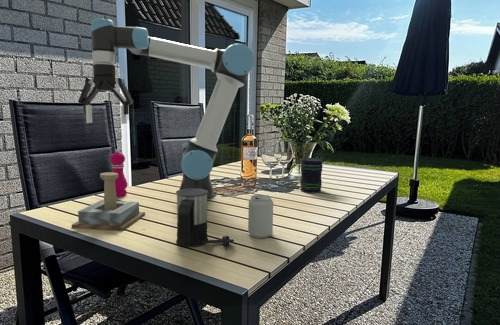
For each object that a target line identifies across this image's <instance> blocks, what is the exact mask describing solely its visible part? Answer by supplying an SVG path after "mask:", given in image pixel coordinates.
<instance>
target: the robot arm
mask: <svg viewBox="0 0 500 325" xmlns="http://www.w3.org/2000/svg"><path fill="white" fill-rule="evenodd" d="M90 24H91V27H90V28H91V29H90V34H91V35H90V36H91V45H92V46H91V47H92V49H91V50H92V51H91V52H92V63H93V65H92V73H93V78H92V77H85V81H84V82H85V83H84V86H83V87H82V91H81V93H80V95H79V98H78V101H77V102H78V104H82V105H83V113H84V114H85V119H86V124H91V123H93V110H92V109H93V108H92V106H93V105H91V103H92V101H93V100H94V99H95V97H96V96H97V94H98V93H100V92H101V91H102V92H103V91H109V92H112V93H113V95H114V96H115V97H116V98H117V99H118V100H119V102H120V104H122V105H120V118H121V120H120V121H121V123H120V124H121V125H124V124H128V123H127V122H128V121H127V120H128V119H127V118H128V117H127V115H129V114H130V112H129V111H130V110H129V106H130V105H133V104H134V100H133V97H131V94H130V91H128V89H127V86H126V82H125V79H124V78H123V77H122V78H121V77H118V78H116V65H115V64H116V55H115V49H125V50H126V49H127V50H129V51H130V52H131V54H133V55H136V56H147V57H151V58H156V59H161V60H165V61H171V62H176V63H179V64H185V65H190V66H194V67H199V68H203V69H209V70H210V71H211V72H212V73H214V74H215V76H216V78H217V81H216V83H215V86H214V88H213V90H212V94H211V96H210V98H209V101H208V104H207V105H206V108H205V110H204V114H203V116H202V119H201V122H200V124H199V126H198V129H197V131H196V134H195V137H192V138H191V139H189V142H185V143H183V144H182V145H181V146H182V148H181V151H182V152H181V154H182V156H181V157H182V158H181V162H180V168H181V171H182V179H181V183H180V186H179V189H178V190H181V189H190V188H194V189H204V190H207V191H208V193H207V199H211V198H212V197H214V196H215V190H214V186H213V183H212V181H211V172H212V171H213V168H214V167H213V166H214V161H215V159H216V157H217V154H218V151H219V150H218V148H217V143H218V141H219V138H220V137H221V136H220V135H221V133H222V131H223V127H224V125H225V123H226V122H227V118H228V116H229V112H230V111H231V108H232V105H233V103H234V101H235V98H236V96H237V93H238V90H239V88H242V87H244V86H245V83H246V81H247V78H248V76H249V73H251V71H252V70H253V68H254V64H255V56H254V55H255V54H254V53H253V51H252V49H251V48H250V47H249V46H248V45H246V44H243V43H238V42H237V43H233V44H230V45H228V46H227V47H226V48H225V49H220V48H215V49H214V50H213V49H207V48H204V47H199V46H194V45H189V44H185V43H180V42H176V41H172V40H167V39H164V38H163V39H162V38H158V37H154V36H153V37H152V36H149V30H148V29H147V28H145V27H139V26H118V25H117V26H116V25H115V24H114V21H113V20H111V19H108V18H103V17H102V18H100V17H99V18H98V17H97V18H94V19H92V20H91V23H90ZM93 84H94V86H93ZM116 84H117V85H118V87H119V89H120V91H121V92H120V91H119V90H118V88H117V86H116ZM92 86H93V87H92ZM91 88H92V89H91ZM90 90H91V91H90Z"/></svg>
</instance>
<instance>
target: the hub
mask: <svg viewBox="0 0 500 325" xmlns="http://www.w3.org/2000/svg"><path fill="white" fill-rule="evenodd" d="M116 201H117V209H115V210H105V207H104V199H103V200H102V199H100V200H99V201H97V202H94V203H92V204H91V205H88V206H86V207H84V208H82V209H80V210H78V211H77V215H78V216H77V217H78V219H77V220H78V221H75V222H74V223H72V224H71V229H85V230H86V229H88V230H101V231H102V230H105V231H120V232H123V231H125V230H126V229H127V228H129V227H130V226H132V225H133V224H134V223H136V222H137V221H139V220H140V219H141V218H142V217H144V216H145V215H146V212H145V211H140V202H139V201H128V200H127V201H124V200H116Z"/></svg>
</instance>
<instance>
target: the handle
mask: <svg viewBox="0 0 500 325" xmlns="http://www.w3.org/2000/svg"><path fill="white" fill-rule="evenodd" d="M99 178H100V179H101V181H102V180H103V183H104V188H103V190H104V192H103V200H104V207H105V210H115V209H117V201H118V200H117V197H116V190H115V180H116V179H117V178H118V173H113V171H112V172H102V173H101V172H100V173H99Z"/></svg>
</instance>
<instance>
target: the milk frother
mask: <svg viewBox="0 0 500 325" xmlns="http://www.w3.org/2000/svg"><path fill="white" fill-rule="evenodd" d="M207 193H208V191H207V190H204V189H194V188H190V189H181V190H179V189H178V190H176V191H175V194H176V221H177V222H176V226H177V229H176V240H175V242H176V244H178V245H180V246H184V247H190V248H191V247H199V246H203V245H205V244H222V246H225V247H227V246H230V243H234V242H235V240H234V238H233V239H231V238H230V236H229V235H226V236H222V237H221V238H220V239H219V238H218V239H209V238H208V198H207Z"/></svg>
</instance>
